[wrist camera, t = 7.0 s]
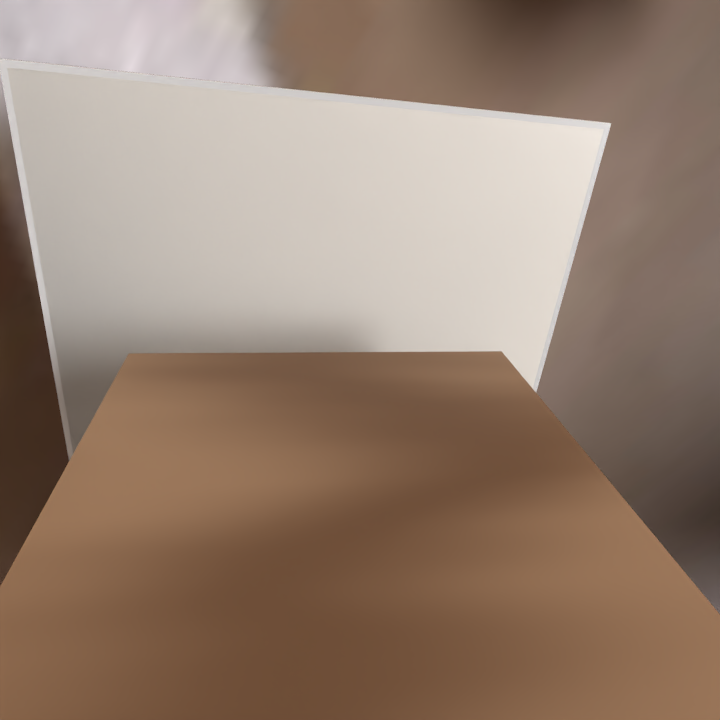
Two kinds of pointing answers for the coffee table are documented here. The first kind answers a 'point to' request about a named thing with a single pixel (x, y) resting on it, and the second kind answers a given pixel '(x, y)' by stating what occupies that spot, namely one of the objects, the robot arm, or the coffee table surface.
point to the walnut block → (344, 555)
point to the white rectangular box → (286, 222)
